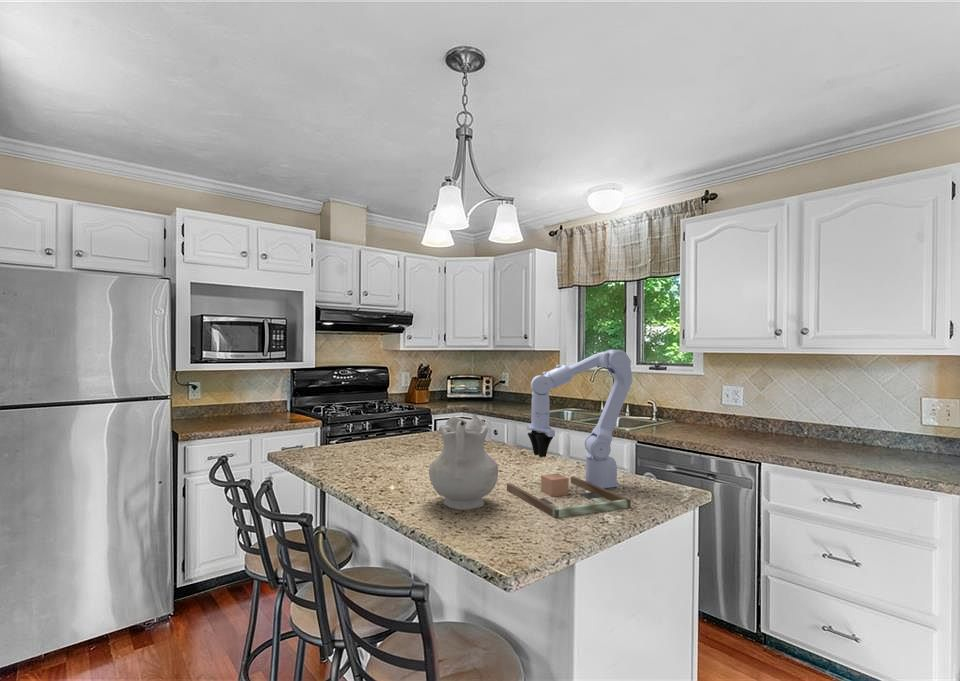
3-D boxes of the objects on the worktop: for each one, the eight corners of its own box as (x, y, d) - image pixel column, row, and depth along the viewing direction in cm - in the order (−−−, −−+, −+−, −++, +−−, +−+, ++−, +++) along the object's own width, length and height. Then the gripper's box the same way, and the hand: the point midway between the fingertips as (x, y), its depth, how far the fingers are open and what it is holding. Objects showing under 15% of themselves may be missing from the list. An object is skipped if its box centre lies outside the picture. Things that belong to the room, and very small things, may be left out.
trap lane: (573, 482, 170) (573, 476, 170) (630, 507, 145) (630, 500, 145) (506, 489, 161) (506, 483, 161) (554, 518, 135) (554, 510, 135)
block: (557, 489, 162) (557, 473, 162) (568, 494, 156) (568, 478, 157) (540, 491, 160) (541, 475, 160) (551, 497, 154) (551, 480, 154)
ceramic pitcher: (503, 520, 136) (511, 424, 137) (428, 517, 133) (437, 419, 133) (488, 496, 157) (495, 414, 158) (424, 494, 154) (431, 409, 155)
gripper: (518, 410, 172) (518, 452, 171) (541, 416, 158) (540, 461, 158) (537, 410, 174) (537, 450, 174) (560, 415, 161) (560, 459, 161)
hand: (540, 455), depth 166 cm, fingers open, 3 cm apart
